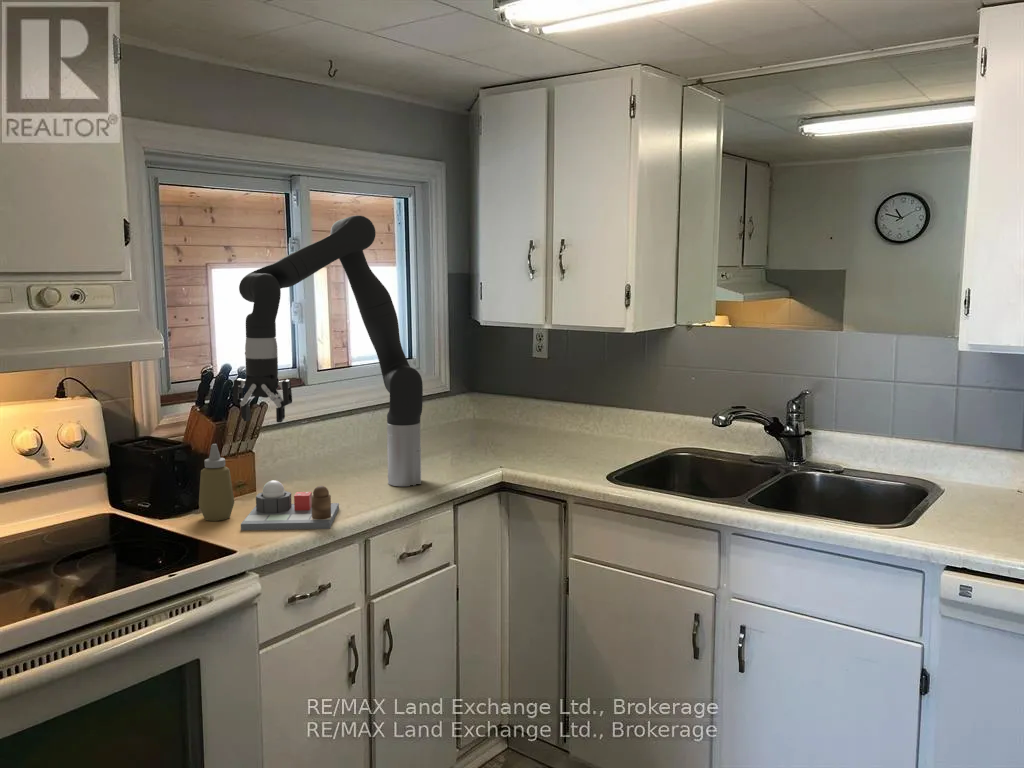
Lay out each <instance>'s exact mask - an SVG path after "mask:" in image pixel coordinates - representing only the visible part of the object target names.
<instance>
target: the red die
mask: <svg viewBox="0 0 1024 768" xmlns="http://www.w3.org/2000/svg"><path fill="white" fill-rule="evenodd" d="M312 495H313V492H312V491H296V492H295V494H294V496H293V504H294V509H295V510H310V509H311V507H312V500H311V496H312Z"/></svg>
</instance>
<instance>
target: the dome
mask: <svg viewBox="0 0 1024 768" xmlns="http://www.w3.org/2000/svg"><path fill="white" fill-rule="evenodd" d="M284 491H285V486H284V485H283V483H282V482H280V481H279V480H275V479H274V480H273V479H272V480H269V481H267V482H266V483H265V484H264V486H263V488H262V492H263V497H264V498H278V497H282V496H284Z"/></svg>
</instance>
